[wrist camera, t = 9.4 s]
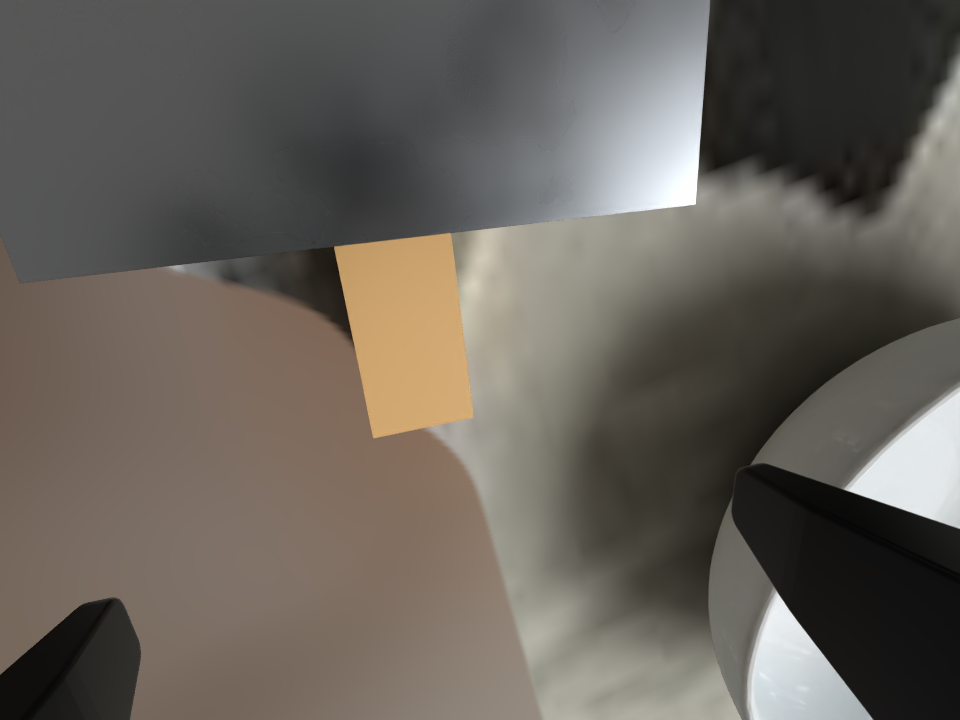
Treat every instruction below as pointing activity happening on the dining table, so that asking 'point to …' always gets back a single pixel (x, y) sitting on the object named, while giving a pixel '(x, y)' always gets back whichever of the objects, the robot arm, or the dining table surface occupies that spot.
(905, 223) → the dining table surface
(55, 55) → the grey arch block
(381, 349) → the plug
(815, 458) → the serving bowl
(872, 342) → the dining table surface
